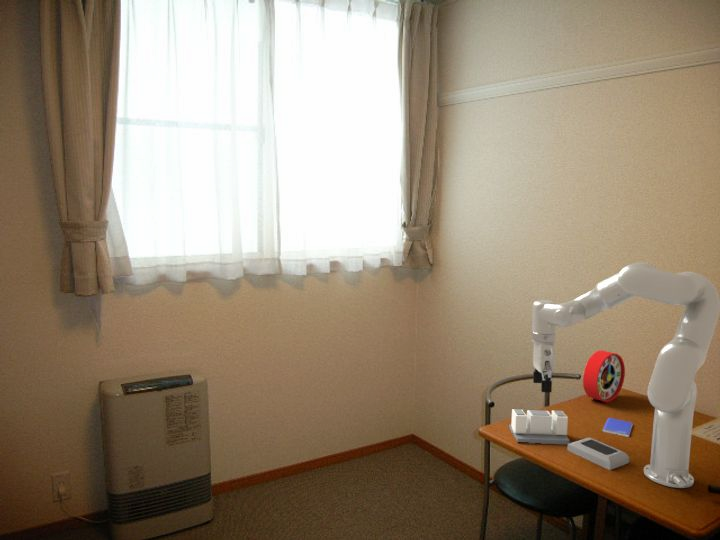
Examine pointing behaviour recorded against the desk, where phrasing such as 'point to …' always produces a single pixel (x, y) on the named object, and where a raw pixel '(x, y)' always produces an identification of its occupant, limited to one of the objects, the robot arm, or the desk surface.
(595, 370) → the toy clock
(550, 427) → the module block
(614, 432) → the hard drive
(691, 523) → the desk surface
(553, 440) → the board
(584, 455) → the grey bevelled device
